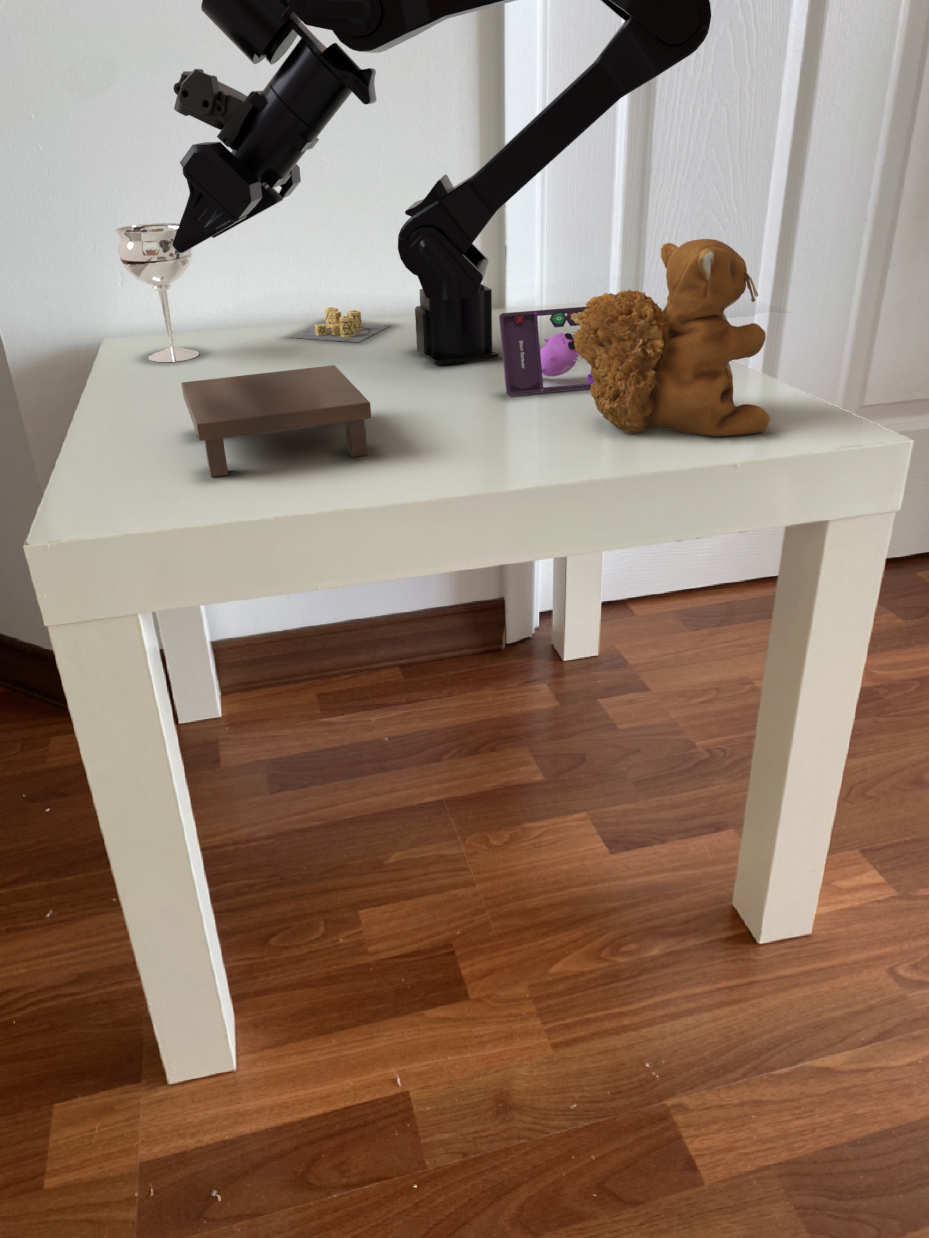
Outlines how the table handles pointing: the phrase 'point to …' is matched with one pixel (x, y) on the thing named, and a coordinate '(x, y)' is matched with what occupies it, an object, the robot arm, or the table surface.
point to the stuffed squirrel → (674, 347)
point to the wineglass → (156, 270)
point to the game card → (537, 351)
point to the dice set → (341, 327)
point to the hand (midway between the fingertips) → (193, 241)
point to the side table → (274, 407)
